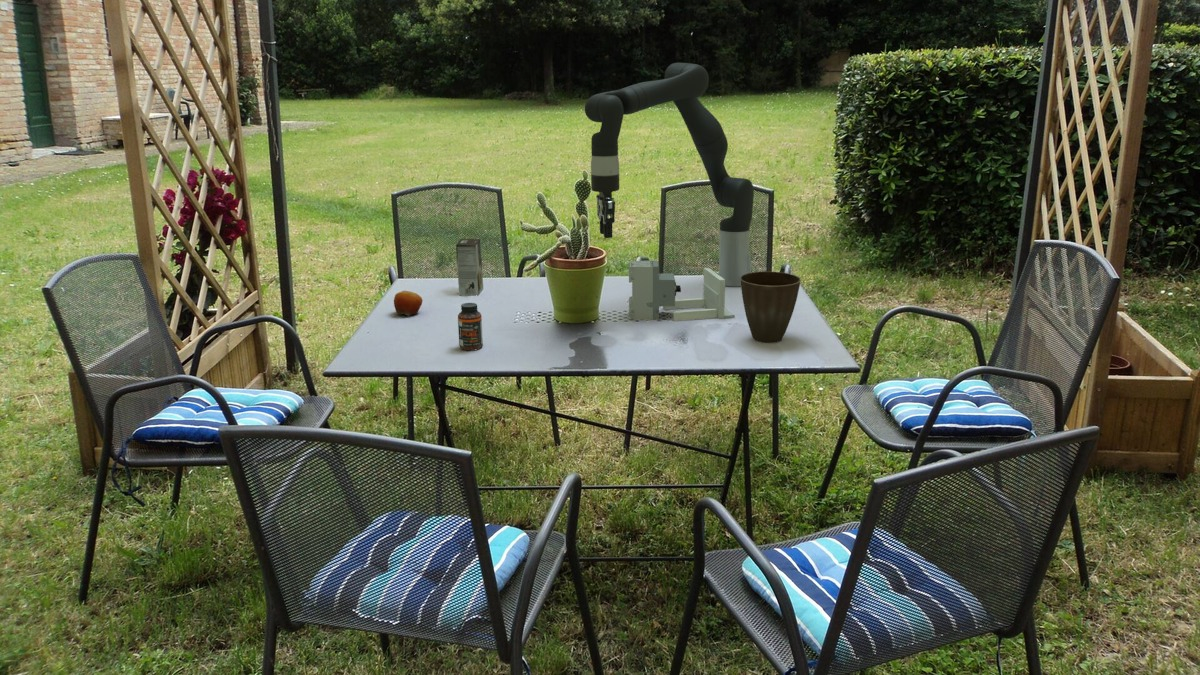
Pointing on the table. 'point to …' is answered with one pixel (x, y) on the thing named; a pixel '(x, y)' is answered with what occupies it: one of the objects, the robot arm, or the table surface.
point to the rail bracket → (704, 301)
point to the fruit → (407, 303)
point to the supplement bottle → (470, 327)
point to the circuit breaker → (650, 290)
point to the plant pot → (769, 303)
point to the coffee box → (469, 267)
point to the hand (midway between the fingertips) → (606, 235)
